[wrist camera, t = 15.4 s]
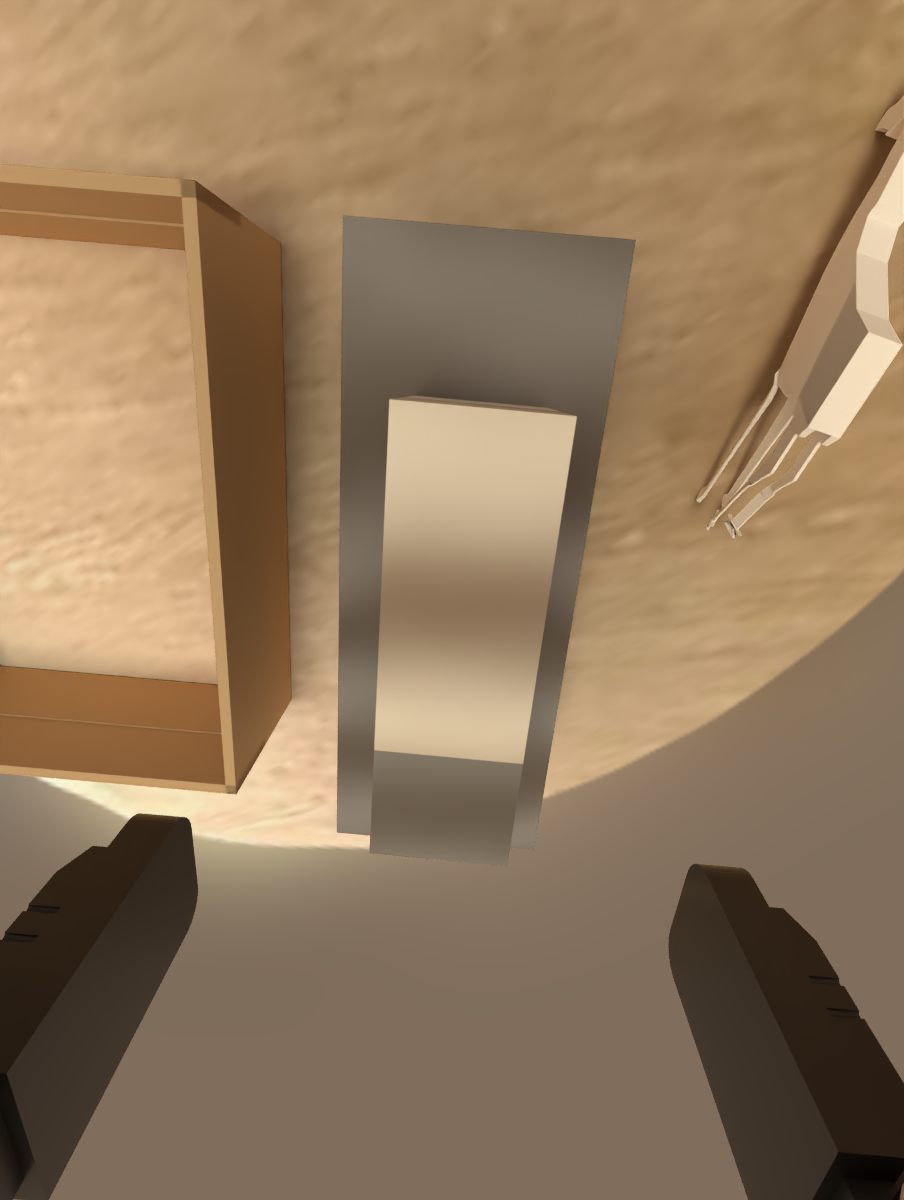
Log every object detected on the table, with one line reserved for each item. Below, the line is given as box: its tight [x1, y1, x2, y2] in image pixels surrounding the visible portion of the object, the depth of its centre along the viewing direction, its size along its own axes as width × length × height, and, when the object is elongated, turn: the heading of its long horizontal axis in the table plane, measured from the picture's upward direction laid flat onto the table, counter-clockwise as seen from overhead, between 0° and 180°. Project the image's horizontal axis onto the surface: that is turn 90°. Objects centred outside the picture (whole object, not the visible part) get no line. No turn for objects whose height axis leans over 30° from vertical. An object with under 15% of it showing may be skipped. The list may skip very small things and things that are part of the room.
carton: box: [0, 164, 291, 794], centre depth 28 cm, size 25×20×9 cm
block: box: [370, 396, 577, 866], centre depth 19 cm, size 14×4×6 cm, turn 175°
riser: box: [337, 216, 636, 850], centre depth 27 cm, size 24×9×11 cm, turn 175°
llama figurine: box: [696, 95, 904, 538], centre depth 26 cm, size 2×11×18 cm
